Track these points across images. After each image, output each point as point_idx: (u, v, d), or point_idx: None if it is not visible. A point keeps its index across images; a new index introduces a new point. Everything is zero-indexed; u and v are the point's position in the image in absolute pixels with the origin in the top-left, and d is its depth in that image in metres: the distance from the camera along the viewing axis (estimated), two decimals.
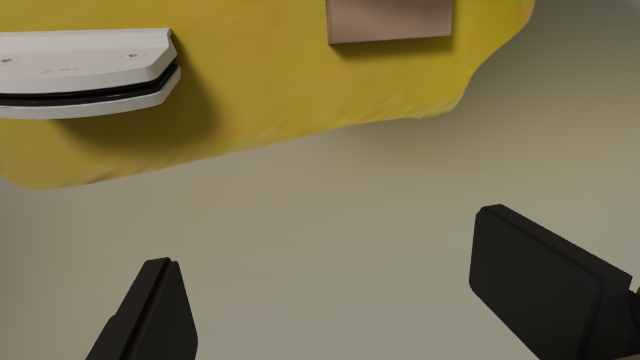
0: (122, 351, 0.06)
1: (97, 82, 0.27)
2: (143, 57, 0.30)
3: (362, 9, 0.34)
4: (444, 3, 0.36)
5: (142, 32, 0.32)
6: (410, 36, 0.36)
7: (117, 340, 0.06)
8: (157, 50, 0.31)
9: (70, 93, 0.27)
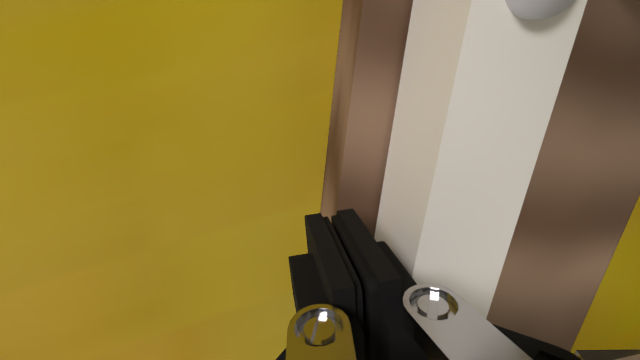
0: (345, 266, 0.07)
1: None
2: None
3: None
4: None
5: None
6: None
7: (335, 261, 0.08)
8: None
9: None
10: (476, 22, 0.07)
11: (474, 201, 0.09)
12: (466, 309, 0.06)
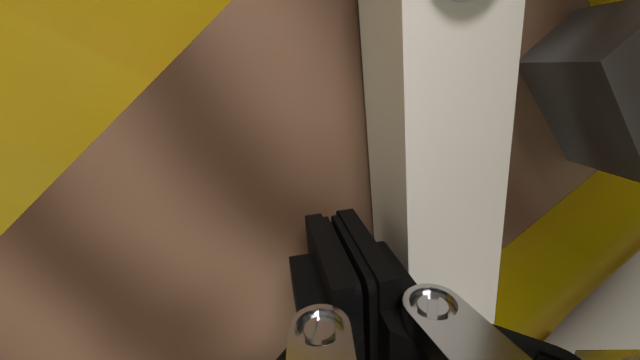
0: (345, 267, 0.07)
1: None
2: None
3: (70, 323, 0.11)
4: None
5: None
6: None
7: (335, 261, 0.08)
8: None
9: None
10: (412, 19, 0.07)
11: (454, 191, 0.09)
12: (466, 309, 0.06)
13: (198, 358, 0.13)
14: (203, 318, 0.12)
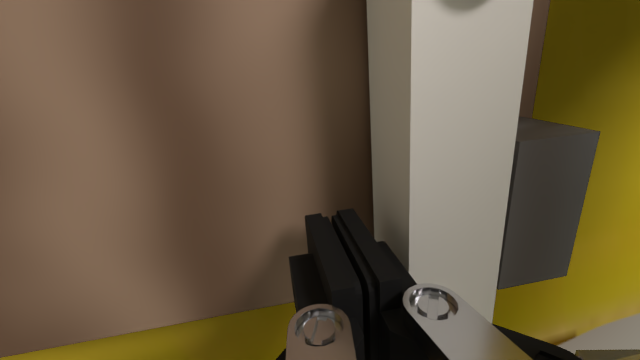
0: (345, 267, 0.07)
1: None
2: None
3: None
4: None
5: None
6: None
7: (335, 261, 0.08)
8: None
9: None
10: (421, 10, 0.07)
11: (457, 186, 0.09)
12: (466, 309, 0.06)
13: None
14: None
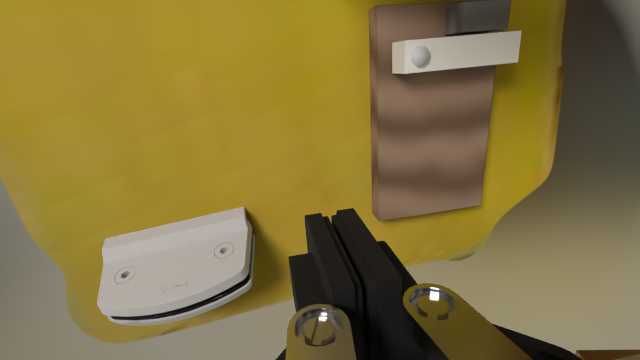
0: (345, 266, 0.07)
1: (206, 295, 0.32)
2: (233, 253, 0.35)
3: (405, 194, 0.39)
4: (475, 182, 0.41)
5: (224, 220, 0.37)
6: (445, 209, 0.41)
7: (335, 261, 0.08)
8: (240, 238, 0.36)
9: None
10: (429, 68, 0.32)
11: (470, 52, 0.32)
12: (466, 309, 0.06)
13: (440, 179, 0.40)
14: (431, 167, 0.39)
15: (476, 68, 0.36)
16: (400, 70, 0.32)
